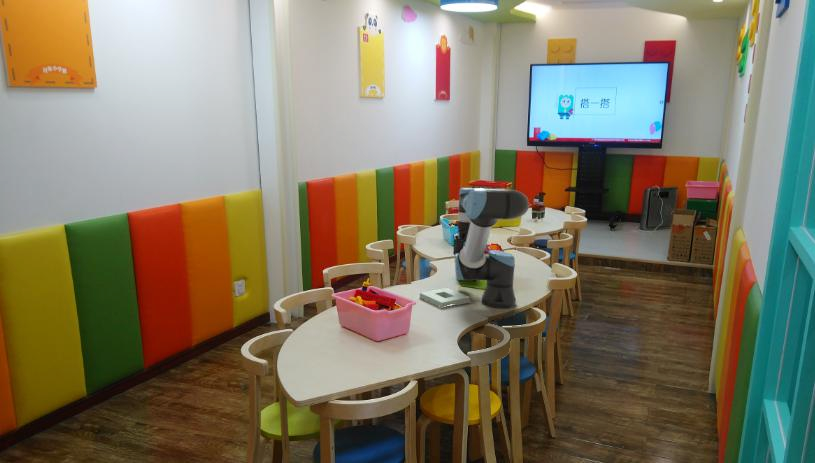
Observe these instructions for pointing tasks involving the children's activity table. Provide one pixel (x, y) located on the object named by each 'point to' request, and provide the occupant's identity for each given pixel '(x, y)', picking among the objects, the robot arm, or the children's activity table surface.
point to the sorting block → (449, 294)
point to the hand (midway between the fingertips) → (463, 268)
